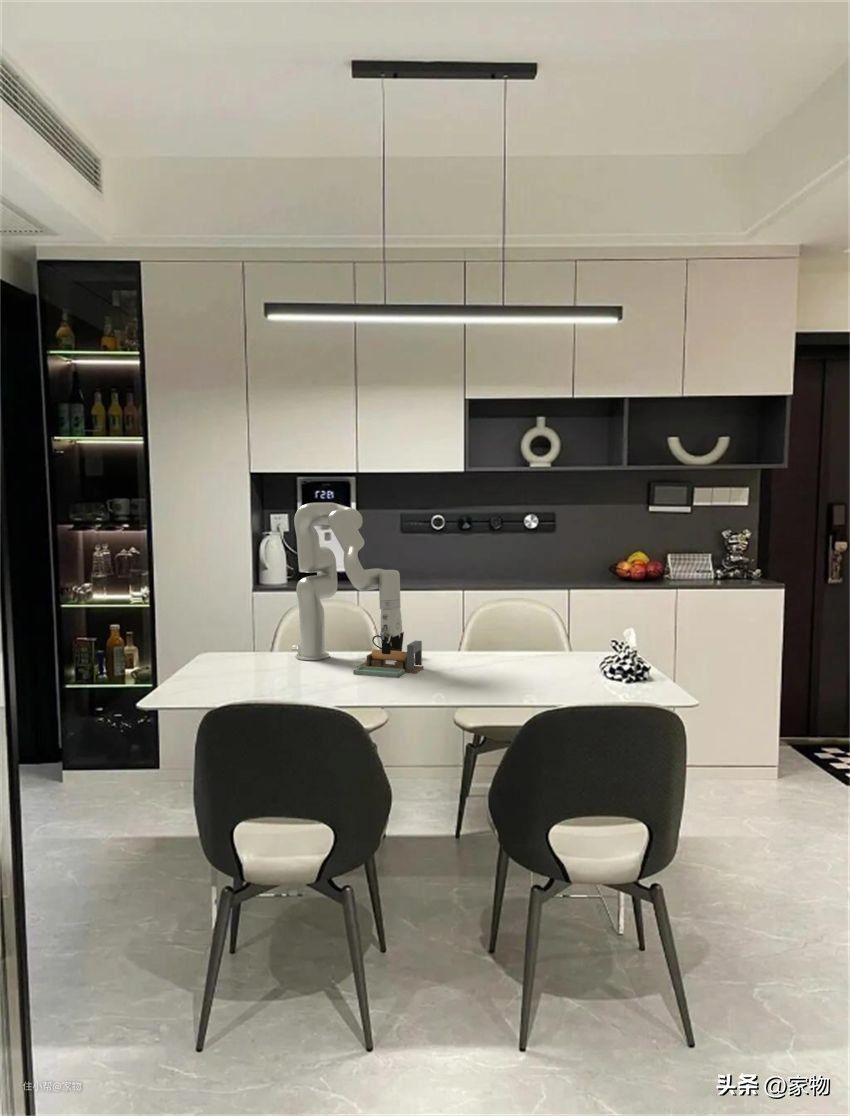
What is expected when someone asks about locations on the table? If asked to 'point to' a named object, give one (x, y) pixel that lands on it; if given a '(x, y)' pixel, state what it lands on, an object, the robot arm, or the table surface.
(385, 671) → the felt tray
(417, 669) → the block
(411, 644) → the grey bracket
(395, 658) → the tan rounded-end block
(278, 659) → the table surface
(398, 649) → the coffee mug
